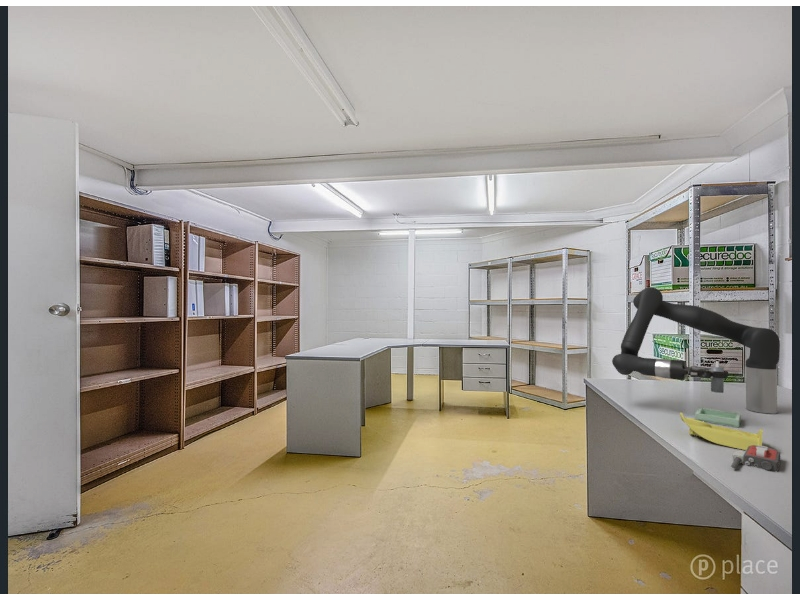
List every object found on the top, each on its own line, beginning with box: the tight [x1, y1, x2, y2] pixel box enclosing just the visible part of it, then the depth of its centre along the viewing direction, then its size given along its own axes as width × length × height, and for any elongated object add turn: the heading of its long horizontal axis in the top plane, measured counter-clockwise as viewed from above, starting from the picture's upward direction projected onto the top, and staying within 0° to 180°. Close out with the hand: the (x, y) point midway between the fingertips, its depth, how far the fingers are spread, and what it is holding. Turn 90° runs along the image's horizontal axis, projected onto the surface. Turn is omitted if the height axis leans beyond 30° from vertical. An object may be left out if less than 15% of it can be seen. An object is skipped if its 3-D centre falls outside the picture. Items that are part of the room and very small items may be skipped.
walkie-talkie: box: [730, 445, 781, 472], centre depth 103 cm, size 9×4×20 cm
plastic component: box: [679, 412, 764, 451], centre depth 121 cm, size 20×7×10 cm
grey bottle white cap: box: [710, 360, 725, 394], centre depth 143 cm, size 4×4×11 cm
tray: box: [694, 407, 742, 429], centre depth 143 cm, size 12×12×3 cm
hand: (727, 374), depth 141 cm, fingers closed on grey bottle white cap, 3 cm apart
